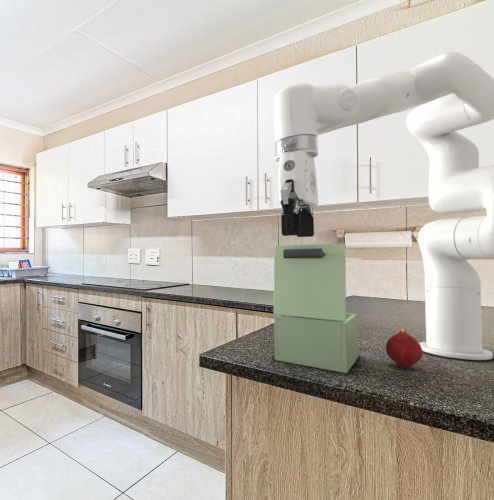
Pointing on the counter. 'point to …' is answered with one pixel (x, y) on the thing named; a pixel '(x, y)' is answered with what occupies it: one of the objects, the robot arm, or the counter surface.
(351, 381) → the counter surface
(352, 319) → the chest
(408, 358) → the onion
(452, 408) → the counter surface
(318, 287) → the lid
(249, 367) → the counter surface
